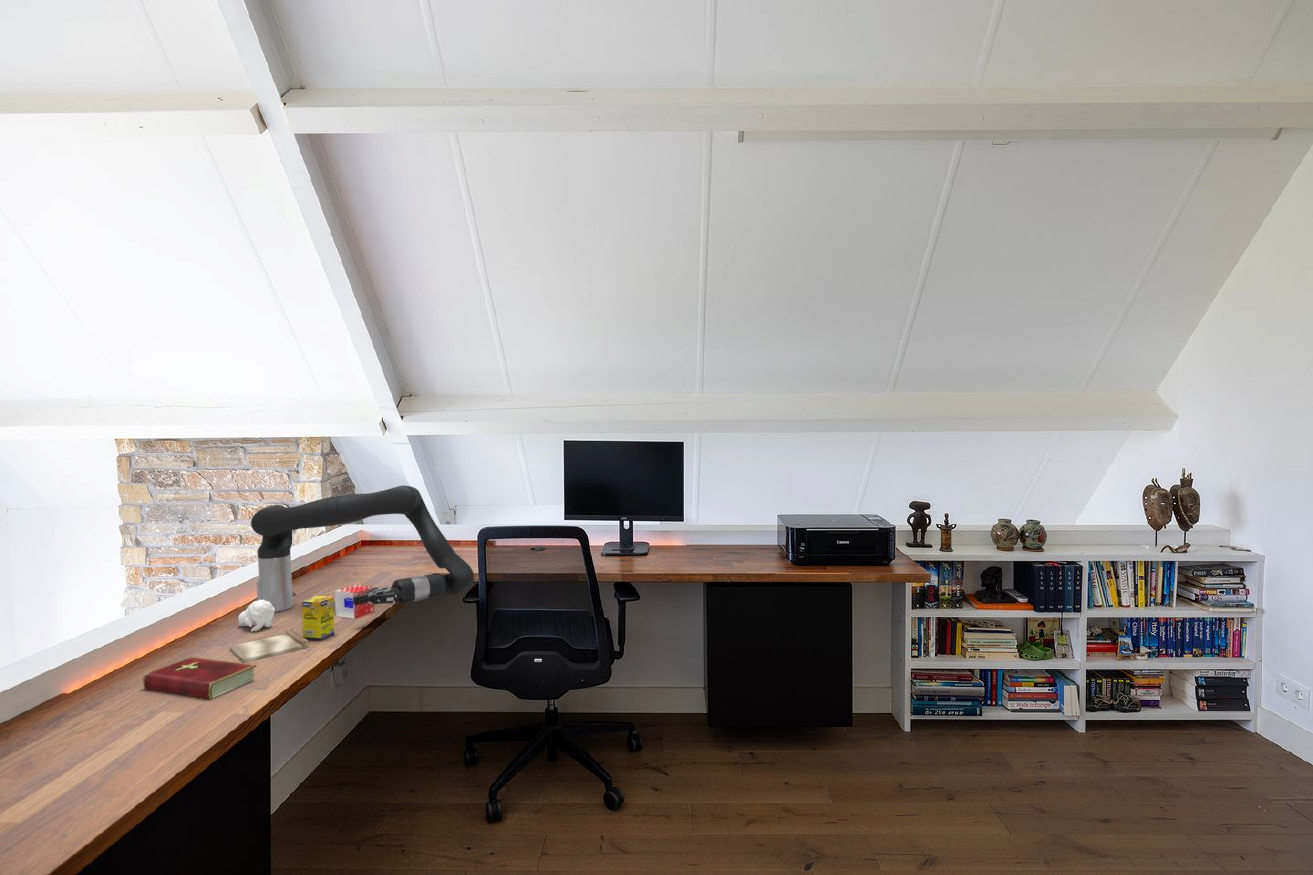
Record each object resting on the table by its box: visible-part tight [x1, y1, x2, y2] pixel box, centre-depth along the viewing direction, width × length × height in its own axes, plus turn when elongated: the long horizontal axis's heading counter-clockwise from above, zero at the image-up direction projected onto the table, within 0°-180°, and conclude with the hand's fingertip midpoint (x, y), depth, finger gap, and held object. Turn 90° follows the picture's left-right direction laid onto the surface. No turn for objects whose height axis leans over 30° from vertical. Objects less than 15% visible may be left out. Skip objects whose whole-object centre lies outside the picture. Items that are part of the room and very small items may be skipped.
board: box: [229, 628, 309, 664], centre depth 191 cm, size 16×14×2 cm
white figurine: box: [238, 600, 275, 633], centre depth 209 cm, size 6×8×12 cm
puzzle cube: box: [334, 584, 375, 619], centre depth 222 cm, size 8×8×8 cm
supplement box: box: [301, 595, 335, 642], centre depth 199 cm, size 6×6×11 cm
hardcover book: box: [142, 656, 257, 700], centre depth 167 cm, size 12×21×4 cm, turn 71°
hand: (353, 601), depth 206 cm, fingers closed
